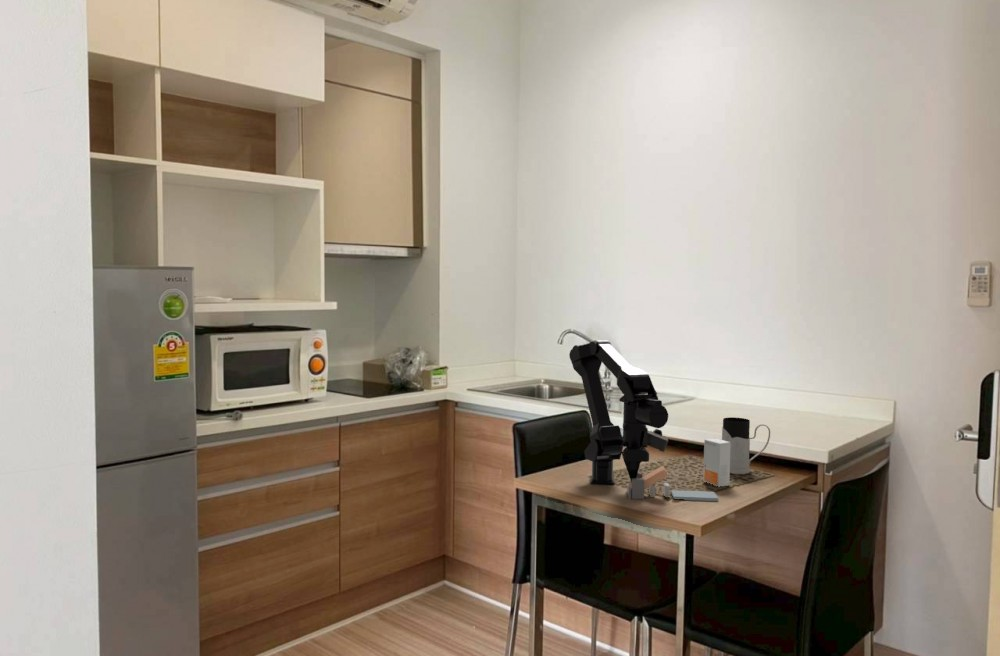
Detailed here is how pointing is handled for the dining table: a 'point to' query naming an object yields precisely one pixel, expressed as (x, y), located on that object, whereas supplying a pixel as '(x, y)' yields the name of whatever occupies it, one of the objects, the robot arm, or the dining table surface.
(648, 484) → the bar
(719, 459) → the skincare box
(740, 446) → the grey mug
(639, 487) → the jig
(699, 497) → the mat
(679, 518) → the dining table surface
